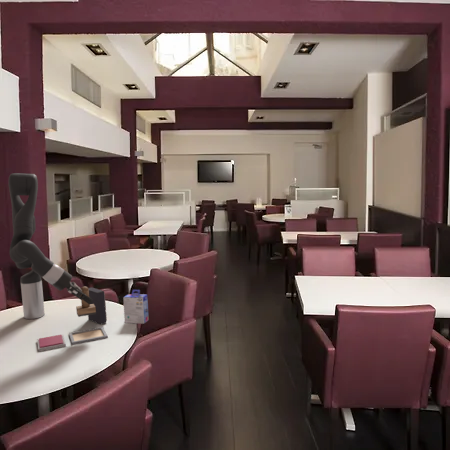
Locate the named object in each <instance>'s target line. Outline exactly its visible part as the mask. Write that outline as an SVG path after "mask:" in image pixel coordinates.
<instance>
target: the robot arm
mask: <svg viewBox="0 0 450 450" xmlns="http://www.w3.org/2000/svg"><path fill="white" fill-rule="evenodd" d="M8 176H9V177H8V190H9V196H10V203H11V214H12V215H11V217H12V231H13V235H12V238H11V242H10V247H9V256H10V257H9V258H10V259H11V260H12V261H13V262H14V263H15V266H16V268H17V269H19V270H20V269H23V270H24V269H31V270H30V271H29V272H27V273H25V274H24V275H22V276H20V278H19V280H20V289H21V291H20V292H21V299H22V301H21V302H22V311H23V318H24V319H27V320H34V319H39V318H41V317H44V316H45V314H46V313H45V302H44V292H43V281H42V279H44V281H46V282H47V283H49V285H51V286H53V287H54V288H55V289H56V290H58V291H63V290H64V289H66V290H67V292H68V293H69V294H71V295H73V297H76V298H77V299H79V300H80V301H81V300H84V301H85V302H87V303H88V304H91V303H92V302H93V300H92V299H91V297H90V296H89V297H88V296H87V295H86V294H84V293H83V292H82V290H81V288H82V287H80V286H78V285H77V283H76V282H74V281H72V279H73V275H72V274H70V273H69V272H68V271H66V270H65V269H64V268H62V267H61V266H60V265H58V264H56V263H54V262H53V261H52V260H51V259H50V258H48V257H46V256H45V254H44V253H43V252H42V251H41V249H40V248H39V247H38V245H36V244H35V243H34V242H33V241H31V239H32V237H33V235H34V234H35V232H36V217H35V210H36V204H37V199H38V198H37V197H38V191H39V190H38V189H39V184H38V183H39V180H38V177H37V175H36V174H35V173H17V172H16V173H15V172H14V173H11V174H10V175H8ZM21 196H28V197H27V200H26V202H25V203H24V202H23V200H22V199H21ZM81 294H82V296H81Z"/></svg>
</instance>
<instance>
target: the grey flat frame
mask: <svg viewBox="0 0 450 450" xmlns="http://www.w3.org/2000/svg"><path fill="white" fill-rule="evenodd" d="M68 336H69V338H70V342H71V345H76V344H82V342H83V343H86V342H87V343H88V342H93V341H97V340H102V339H108V334H107V331H106V330H105V329H104V327H103V326H100V327H94V328H89V329H88V328H87V329H83V330H78V331H73V332H69V333H68Z"/></svg>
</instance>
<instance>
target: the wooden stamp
mask: <svg viewBox="0 0 450 450" xmlns="http://www.w3.org/2000/svg"><path fill="white" fill-rule="evenodd" d="M80 288H81V290H82V292H83V293H84V294H86V295H87V296H88V297H89V289H88V288H89V287H88V286H85V285H84V286H82V287H80ZM81 296H82V294H81ZM80 303H81V305H77V306H76V309H75V310H76V315H77V317H78V318H79V317H80V318H81V317H86V316H88V315H93V314H96V307H95V305H94V304H88V303H87V302H85V301H84V300H80Z"/></svg>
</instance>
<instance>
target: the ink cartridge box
mask: <svg viewBox="0 0 450 450" xmlns="http://www.w3.org/2000/svg"><path fill="white" fill-rule="evenodd" d="M122 298H123V299H122V300H123V312H124V313H123V315H124V316H123V318H124V323H125V324H141V325H143V324H144V325H145V324H146V323H147V322H148V321H149V320H150V318H149V303H148V301H149V300H148V294H144V293H143V294H141V290H140V289H132V291H131V294H126V295H125V296H122Z"/></svg>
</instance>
